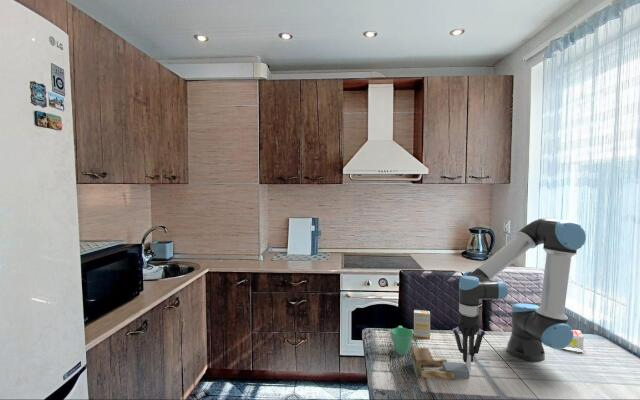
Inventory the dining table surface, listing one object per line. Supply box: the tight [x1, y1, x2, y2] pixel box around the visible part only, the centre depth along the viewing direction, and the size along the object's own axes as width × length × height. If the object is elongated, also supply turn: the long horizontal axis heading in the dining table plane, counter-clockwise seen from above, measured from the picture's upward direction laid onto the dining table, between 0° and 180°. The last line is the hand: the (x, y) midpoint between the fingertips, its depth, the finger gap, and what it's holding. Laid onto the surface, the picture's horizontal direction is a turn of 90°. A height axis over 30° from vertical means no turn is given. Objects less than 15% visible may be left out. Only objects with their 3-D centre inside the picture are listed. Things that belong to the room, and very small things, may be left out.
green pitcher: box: [391, 325, 414, 356], centre depth 159 cm, size 15×10×10 cm
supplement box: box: [413, 309, 431, 339], centre depth 174 cm, size 8×5×13 cm, turn 71°
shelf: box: [411, 347, 455, 382], centre depth 140 cm, size 15×13×7 cm
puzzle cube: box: [566, 329, 585, 351], centre depth 161 cm, size 8×8×8 cm
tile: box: [441, 361, 470, 379], centre depth 139 cm, size 9×7×3 cm
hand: (467, 368), depth 139 cm, fingers closed
